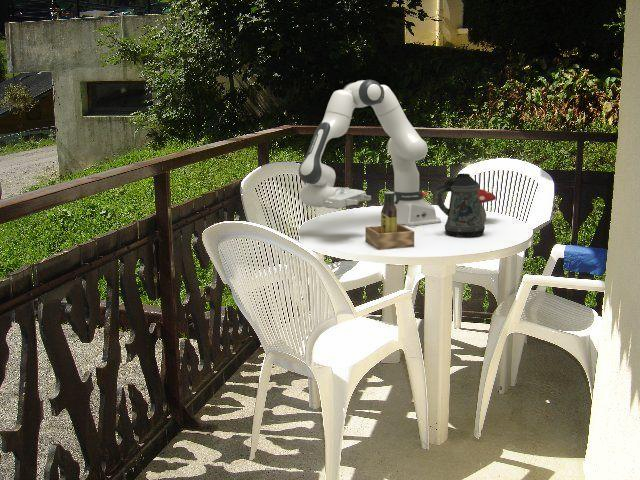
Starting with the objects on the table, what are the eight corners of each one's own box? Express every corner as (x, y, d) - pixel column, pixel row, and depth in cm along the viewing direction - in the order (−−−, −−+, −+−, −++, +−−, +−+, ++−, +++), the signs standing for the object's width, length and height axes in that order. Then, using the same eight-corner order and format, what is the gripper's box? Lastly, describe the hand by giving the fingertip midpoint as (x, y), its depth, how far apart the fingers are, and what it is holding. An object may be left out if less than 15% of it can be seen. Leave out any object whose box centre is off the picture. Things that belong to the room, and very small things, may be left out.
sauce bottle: (379, 240, 311) (379, 190, 306) (395, 239, 311) (395, 190, 307) (382, 243, 304) (382, 193, 300) (398, 243, 305) (398, 193, 300)
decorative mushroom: (467, 226, 340) (468, 192, 336) (453, 219, 355) (454, 186, 351) (501, 223, 343) (502, 190, 340) (486, 217, 358) (487, 185, 355)
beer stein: (492, 235, 321) (494, 175, 315) (454, 240, 312) (455, 178, 307) (468, 228, 335) (469, 170, 330) (430, 233, 327) (431, 174, 321)
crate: (400, 238, 317) (400, 224, 316) (414, 246, 303) (414, 231, 301) (365, 241, 313) (365, 226, 312) (377, 249, 299) (377, 234, 298)
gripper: (320, 194, 310) (350, 196, 302) (347, 186, 326) (376, 188, 318) (321, 210, 311) (350, 212, 303) (348, 201, 327) (376, 203, 320)
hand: (364, 200), depth 311 cm, fingers open, 8 cm apart
